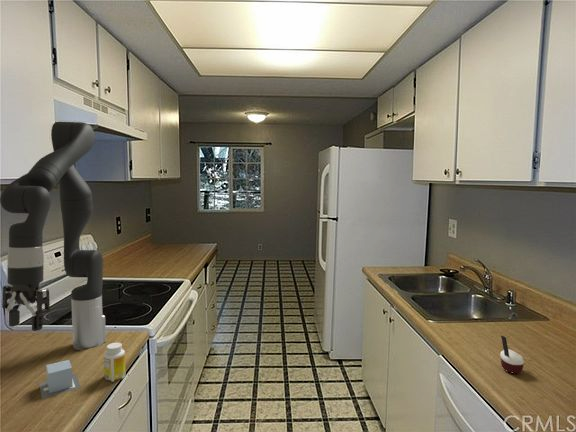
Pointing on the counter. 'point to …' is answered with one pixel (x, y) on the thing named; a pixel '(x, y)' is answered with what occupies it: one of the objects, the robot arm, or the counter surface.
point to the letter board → (46, 393)
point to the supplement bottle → (114, 362)
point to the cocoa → (511, 359)
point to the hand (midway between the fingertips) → (25, 327)
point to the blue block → (59, 376)
